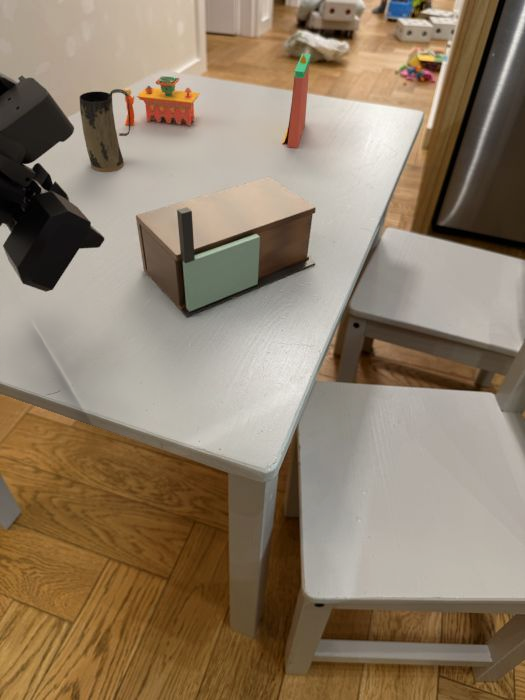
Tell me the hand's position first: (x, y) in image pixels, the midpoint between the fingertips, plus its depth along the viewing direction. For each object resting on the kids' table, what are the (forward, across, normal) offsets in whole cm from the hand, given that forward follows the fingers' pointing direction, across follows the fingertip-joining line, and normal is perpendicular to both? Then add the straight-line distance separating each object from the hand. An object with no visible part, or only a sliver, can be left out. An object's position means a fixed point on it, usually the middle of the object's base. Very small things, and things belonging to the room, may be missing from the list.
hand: (100, 241), depth 47 cm
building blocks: (+39, +47, -20) cm, 65 cm away
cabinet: (+22, +6, -4) cm, 23 cm away
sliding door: (+18, 0, -1) cm, 18 cm away
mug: (+22, +41, -3) cm, 47 cm away
